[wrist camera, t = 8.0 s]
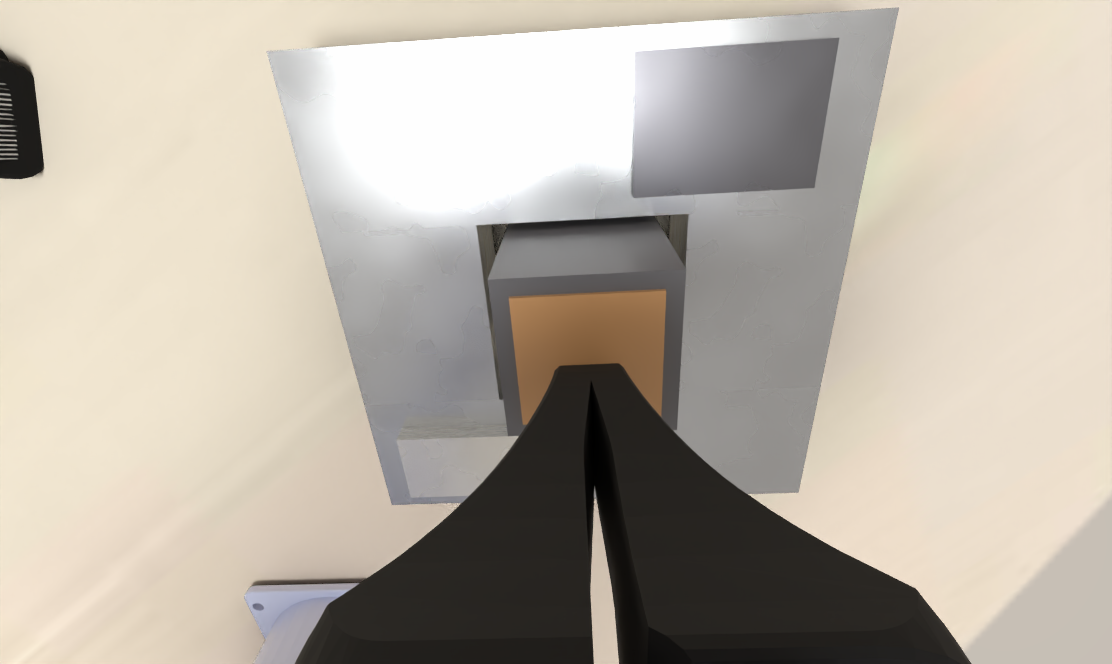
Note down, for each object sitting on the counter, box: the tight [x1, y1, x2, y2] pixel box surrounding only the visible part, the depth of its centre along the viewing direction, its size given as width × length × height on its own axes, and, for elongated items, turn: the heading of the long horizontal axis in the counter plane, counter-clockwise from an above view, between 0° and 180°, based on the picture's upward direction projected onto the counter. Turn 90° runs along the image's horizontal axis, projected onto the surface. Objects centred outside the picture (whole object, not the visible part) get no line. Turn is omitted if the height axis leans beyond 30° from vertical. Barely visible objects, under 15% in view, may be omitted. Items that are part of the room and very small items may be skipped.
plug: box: [488, 216, 686, 436], centre depth 14 cm, size 4×4×6 cm
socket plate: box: [267, 8, 899, 505], centre depth 15 cm, size 14×14×3 cm
